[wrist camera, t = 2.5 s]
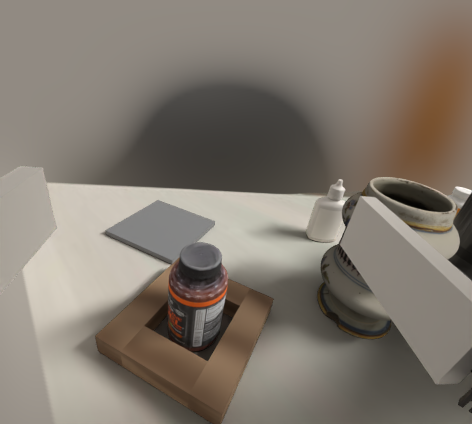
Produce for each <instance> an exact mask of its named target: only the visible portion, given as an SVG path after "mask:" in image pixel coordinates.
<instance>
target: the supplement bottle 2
mask: <svg viewBox="0 0 472 424" xmlns="http://www.w3.org/2000/svg"><path fill="white" fill-rule="evenodd" d="M471 192H472V190H469V189H466V188H462V187H455V189H454V190H453V192H452V194H453V195H449V196H448V197H450V198H451V199H452V200H453V201H454V202H455V203H456V204H457V207H458V209H457V212H456V215H457V214H458V212H459V211H460V209H461V208H462V206H463V205H464V203H465V202H466V200H467V199H468V197H469V195H470V194H471ZM456 215H455V217H456ZM455 217H454V218H455ZM453 220H454V219H453Z"/></svg>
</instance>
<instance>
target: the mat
mask: <svg viewBox="0 0 472 424" xmlns="http://www.w3.org/2000/svg"><path fill="white" fill-rule="evenodd" d="M214 225H215V221H212V220H210V219H207V218H204V217H202V216H199V215H196V214H194V213H191V212H188V211H186V210H183V209H180V208H178V207H175V206H172V205H170V204H167V203H164V202H162V201H159V200H157V201H156V202H154V203H152V204H151V205H149V206H147V207H145V208H144V209H142V210H140V211H138V212H137V213H135V214H133V215H131V216H130V217H128V218H126V219H124V220H123V221H121V222H119V223H118V224H116V225H114V226H112V227H111V228H109V229H107V230H105V231H106V235H108V236H110V237H113V238H115V239H117V240H119V241H121V242H124V243H126V244H128V245H130V246H132V247H135V248H137V249H139V250H141V251H143V252H146V253H148V254H150V255H152V256H154V257H157V258H159V259H161V260H163V261H165V262H168V263H170V264H173V263H174V262H175V261H176V260H177V259H178V258H179V257H180V252H181V250H182V249H183V248H184V247H185V246H187V245H189V244H192V243H196V242H197V241H198V240H199V239H200V238H201V237H202V236H203V235H205V234H206V233H207V232H208V231H209V230H210V229H211V228H212V227H213V226H214Z"/></svg>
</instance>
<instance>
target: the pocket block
mask: <svg viewBox="0 0 472 424" xmlns="http://www.w3.org/2000/svg"><path fill="white" fill-rule="evenodd" d="M179 259H180V257H179V258H178V259H177V260H176V261H175V262H174V263H173V264H172V265H171V266H170V267H168V268H167V269H166V270H165V271H164V272H163V273H162V274H161V275H160V276H159V277H158V278H157V279H156V280H155V281H153V282H152V283H151V284H150V285H149V286H148V287H147V288H146V289H145V290H144V291H143V292H142V293H141V294H140V295H139V296H137V297H136V298H135V299H134V300H133V301H132V302H131V303H130V304H129V305H128V306H127V307H126V308H125V309H124V310H122V311H121V312H120V313H119V314H118V315H117V316H116V317H115V318H114V319H113V320H112V321H111V322H110V323H109V324H108V325H106V326H105V327H104V328H103V329H102V330H101V331H100V332H99V333H98V334H97V335H96V336H95V338H96V343H97V347H98V351H99V352H100V353H102V354H103V355H105V356H107V357H108V358H110V359H111V360H113V361H114V362H116V363H118V364H119V365H121V366H122V367H124V368H125V369H127V370H129V371H130V372H132V373H133V374H135V375H136V376H138V377H140V378H141V379H143V380H144V381H146V382H147V383H149V384H151V385H152V386H154V387H155V388H157V389H159V390H160V391H162V392H163V393H165V394H166V395H168V396H170V397H171V398H173V399H174V400H176V401H177V402H179V403H181V404H182V405H184V406H185V407H187V408H188V409H190V410H192V411H193V412H195V413H196V414H198V415H200V416H201V417H203V418H204V419H206V420H207V421H209V422H211V423H212V424H221V423H222V420H223V418H224V416H225V414H226V411H227V409H228V407H229V404H230V402H231V400H232V397H233V395H234V393H235V391H236V388H237V386H238V384H239V381H240V379H241V377H242V375H243V372H244V370H245V368H246V365H247V363H248V361H249V359H250V356H251V354H252V352H253V349H254V347H255V345H256V343H257V340H258V338H259V336H260V333H261V331H262V329H263V326H264V324H265V322H266V320H267V317H268V315H269V313H270V310H271V306H272V303H273V300H274V299H273V298H271V297H269V296H266V295H264V294H262V293H260V292H257V291H255V290H253V289H250V288H248V287H246V286H244V285H241V284H239V283H237V282H235V281H232V280H230V279H228V286H227V292H226V298H225V303H224V309H223V313H225V314H227V315H229V316H231V317H233V319H232V321H231V322H230V324H229V326H228V328H227V329H226V331H225V333H224V334H223V336H222V338H221V340H220V341H219V343H218V345H217V347H216V348H215V350H214V352H213V354H212V355H211V357H210V359H209V360H208V361H206V360H205V359H203V358H201V357H199V356H197V355H196V354H194V353H192V352H190V351H188V350H187V349H185V348H183V347H181V346H179V345H178V344H176V343H174V342H172V341H170V340H169V339H167V338H165V337H163V336H161V335H160V334H158V333H156V332H154V330H155V328H156V327H157V326H158V325H159V324H160V323H161V321H162V320H163V319H164V318H165V317H166V316H167V315H168V284H169V274H170V271H171V269H172V267H173V266H174V265H175V264H176V263H177V262H178V261H179Z"/></svg>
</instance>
